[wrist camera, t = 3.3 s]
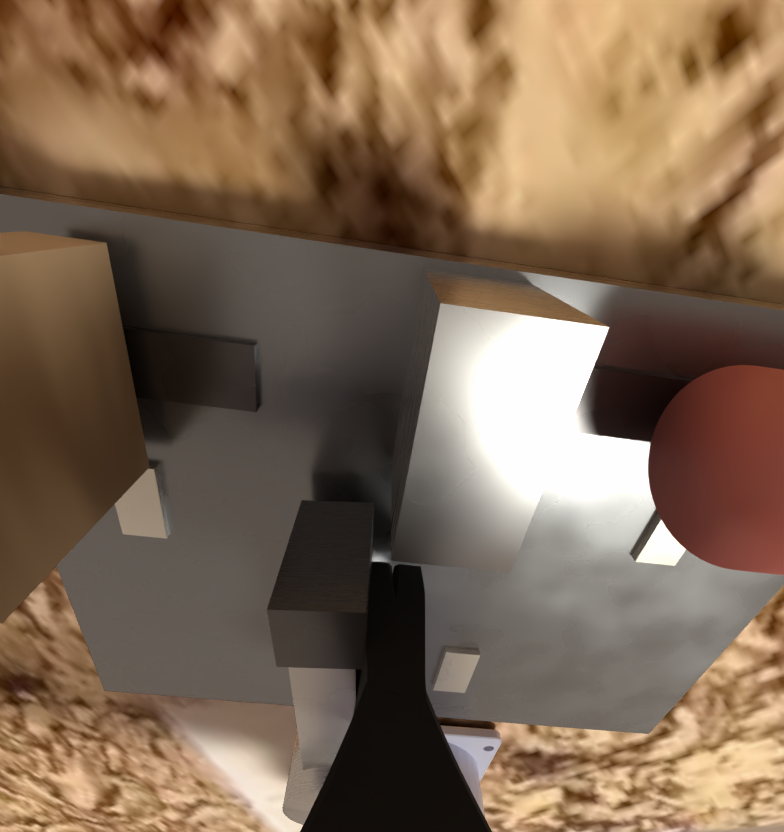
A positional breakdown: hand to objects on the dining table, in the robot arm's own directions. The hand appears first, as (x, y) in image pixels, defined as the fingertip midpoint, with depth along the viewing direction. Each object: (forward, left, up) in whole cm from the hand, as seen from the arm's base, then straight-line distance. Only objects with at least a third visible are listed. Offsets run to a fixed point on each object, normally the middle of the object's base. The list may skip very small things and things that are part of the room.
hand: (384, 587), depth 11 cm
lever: (-2, +1, 0) cm, 2 cm away
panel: (0, -1, -2) cm, 3 cm away
